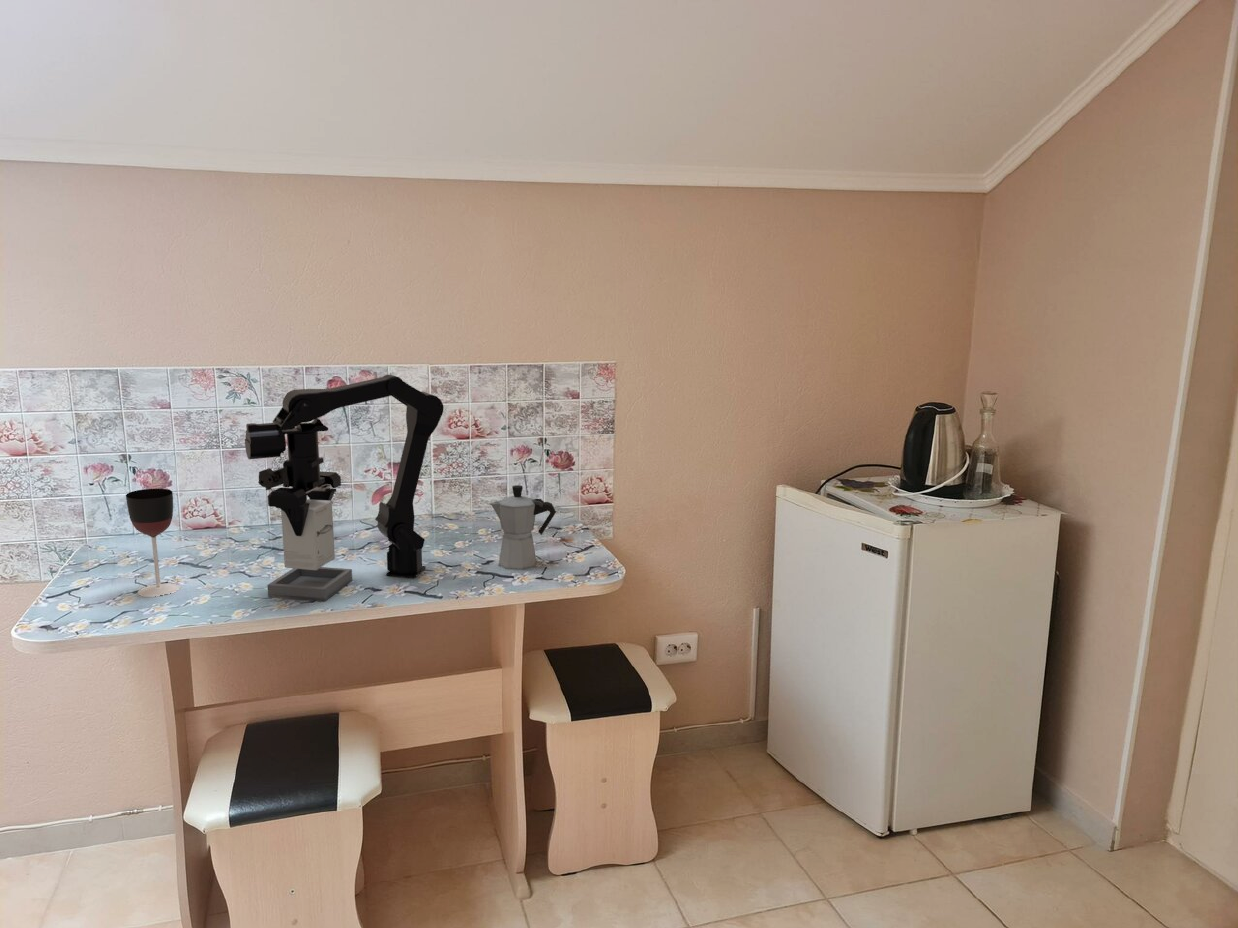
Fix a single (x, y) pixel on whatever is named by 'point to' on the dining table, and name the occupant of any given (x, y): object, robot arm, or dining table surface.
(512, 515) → the coffee maker
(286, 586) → the tray
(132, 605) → the dining table surface
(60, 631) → the dining table surface
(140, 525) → the wineglass
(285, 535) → the supplement box
